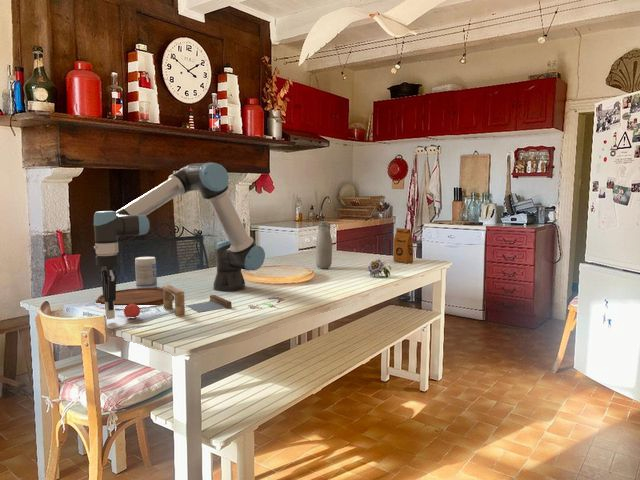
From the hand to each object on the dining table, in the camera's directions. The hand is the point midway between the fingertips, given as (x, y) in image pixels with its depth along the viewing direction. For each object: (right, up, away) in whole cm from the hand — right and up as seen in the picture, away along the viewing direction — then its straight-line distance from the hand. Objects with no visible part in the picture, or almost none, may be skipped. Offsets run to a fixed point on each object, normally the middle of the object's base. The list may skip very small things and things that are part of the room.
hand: (110, 318), depth 177 cm
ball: (+6, +2, +4) cm, 8 cm away
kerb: (+35, +2, +27) cm, 44 cm away
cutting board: (-4, +2, +34) cm, 34 cm away
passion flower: (+109, +8, +89) cm, 141 cm away
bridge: (+19, 0, +14) cm, 24 cm away
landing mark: (+30, +1, +23) cm, 38 cm away
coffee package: (+130, +14, +138) cm, 190 cm away
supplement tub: (-8, +5, +58) cm, 59 cm away
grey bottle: (+79, +11, +113) cm, 138 cm away
